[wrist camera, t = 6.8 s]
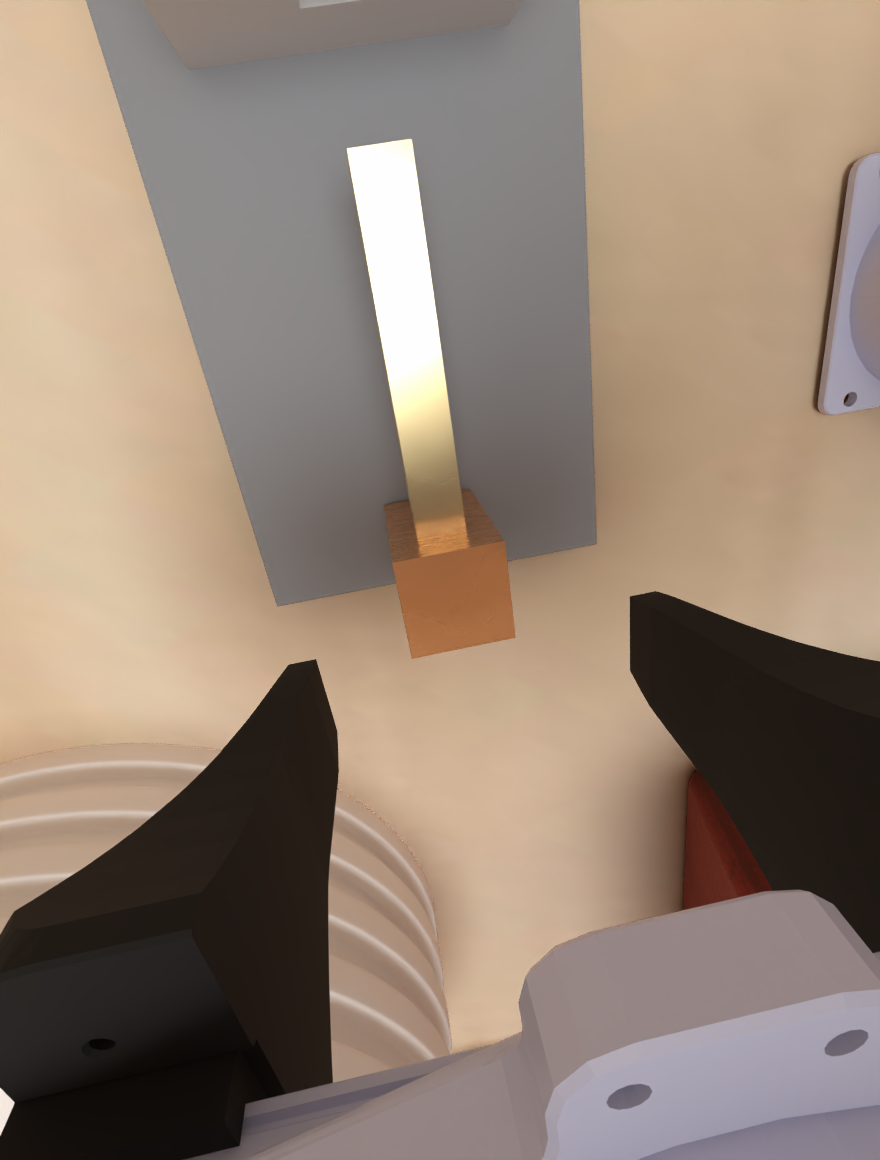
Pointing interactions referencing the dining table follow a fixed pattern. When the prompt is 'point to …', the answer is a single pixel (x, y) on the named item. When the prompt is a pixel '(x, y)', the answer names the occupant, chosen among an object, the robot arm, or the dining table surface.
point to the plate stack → (355, 890)
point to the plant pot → (715, 852)
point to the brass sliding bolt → (424, 426)
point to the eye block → (337, 264)
